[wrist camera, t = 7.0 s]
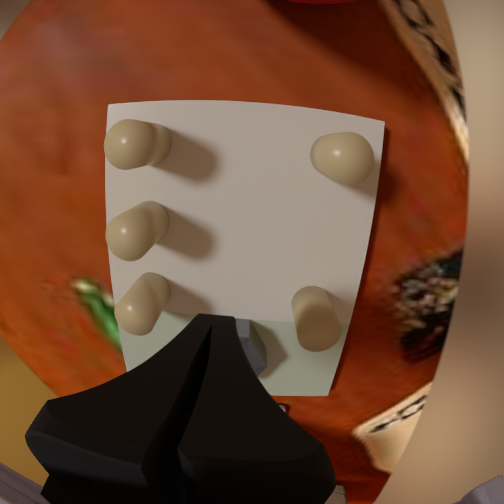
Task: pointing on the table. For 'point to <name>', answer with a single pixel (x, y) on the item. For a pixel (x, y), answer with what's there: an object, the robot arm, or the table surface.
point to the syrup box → (337, 496)
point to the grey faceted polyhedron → (252, 345)
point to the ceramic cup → (321, 1)
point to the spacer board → (240, 226)
